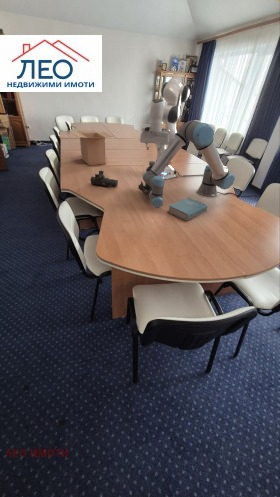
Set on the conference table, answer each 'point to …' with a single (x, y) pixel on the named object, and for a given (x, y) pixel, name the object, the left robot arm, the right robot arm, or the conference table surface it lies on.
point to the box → (92, 146)
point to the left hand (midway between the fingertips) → (153, 149)
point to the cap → (151, 163)
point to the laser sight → (103, 180)
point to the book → (187, 208)
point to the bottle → (148, 171)
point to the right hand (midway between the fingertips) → (149, 183)
